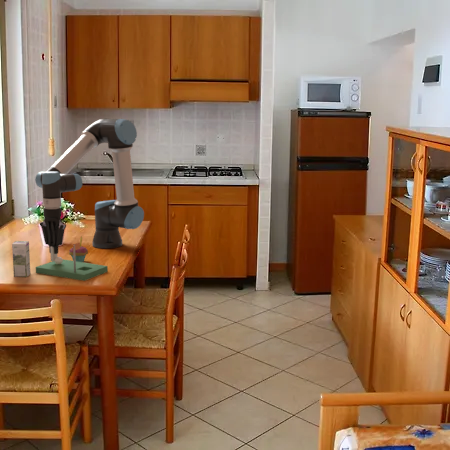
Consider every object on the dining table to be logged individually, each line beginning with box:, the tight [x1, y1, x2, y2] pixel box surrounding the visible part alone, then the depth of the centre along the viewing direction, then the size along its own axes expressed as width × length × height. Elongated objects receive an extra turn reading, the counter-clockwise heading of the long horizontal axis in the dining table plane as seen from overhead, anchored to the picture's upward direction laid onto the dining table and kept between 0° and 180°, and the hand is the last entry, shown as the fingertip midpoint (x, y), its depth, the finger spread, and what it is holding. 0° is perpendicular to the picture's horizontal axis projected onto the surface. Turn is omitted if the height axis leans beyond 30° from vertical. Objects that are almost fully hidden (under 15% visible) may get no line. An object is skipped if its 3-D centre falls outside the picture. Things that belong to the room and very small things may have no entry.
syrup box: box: [11, 240, 31, 278], centre depth 266 cm, size 6×6×14 cm
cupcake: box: [68, 235, 89, 263], centre depth 290 cm, size 9×8×12 cm
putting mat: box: [35, 242, 109, 282], centre depth 272 cm, size 16×26×14 cm, turn 64°
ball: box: [55, 256, 64, 265], centre depth 275 cm, size 4×4×4 cm
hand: (54, 260), depth 276 cm, fingers closed
